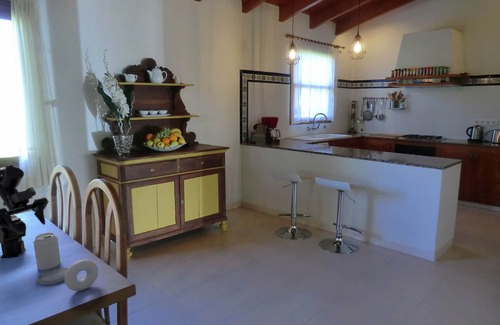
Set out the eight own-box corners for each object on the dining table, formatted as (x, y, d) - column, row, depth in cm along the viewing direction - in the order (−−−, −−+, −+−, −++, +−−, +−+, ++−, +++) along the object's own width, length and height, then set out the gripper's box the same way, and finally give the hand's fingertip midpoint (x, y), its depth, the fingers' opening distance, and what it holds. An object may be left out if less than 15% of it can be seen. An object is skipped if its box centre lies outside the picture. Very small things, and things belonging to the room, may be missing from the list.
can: (50, 272, 120) (45, 240, 118) (32, 270, 122) (27, 239, 120) (65, 262, 128) (61, 232, 125) (48, 260, 129) (44, 230, 127)
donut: (68, 298, 105) (64, 268, 103) (64, 293, 107) (60, 264, 105) (101, 285, 112) (98, 256, 110) (97, 281, 114) (94, 253, 112)
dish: (32, 287, 111) (32, 284, 111) (44, 271, 121) (44, 269, 121) (65, 283, 113) (65, 280, 113) (75, 269, 123) (75, 266, 122)
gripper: (-12, 188, 117) (11, 224, 114) (42, 176, 133) (64, 208, 130) (-21, 207, 122) (1, 242, 119) (33, 194, 138) (53, 224, 135)
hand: (32, 228), depth 125 cm, fingers open, 9 cm apart
